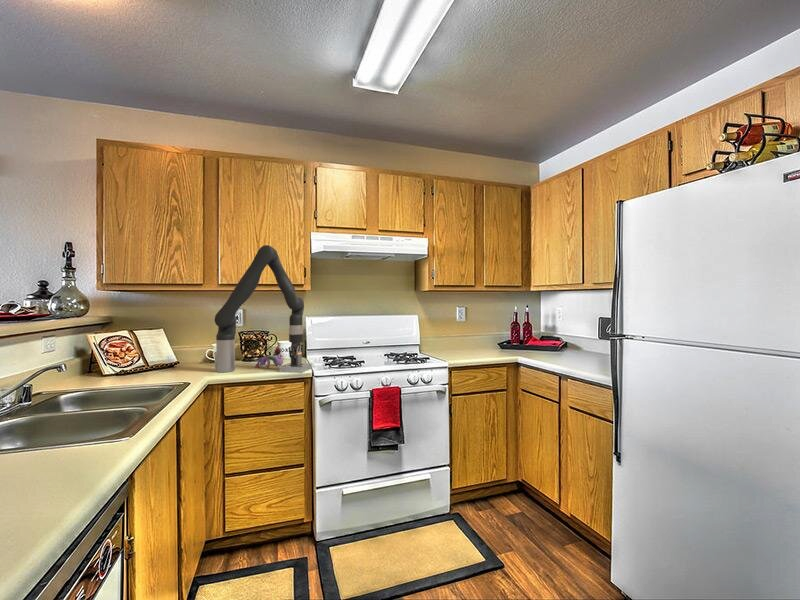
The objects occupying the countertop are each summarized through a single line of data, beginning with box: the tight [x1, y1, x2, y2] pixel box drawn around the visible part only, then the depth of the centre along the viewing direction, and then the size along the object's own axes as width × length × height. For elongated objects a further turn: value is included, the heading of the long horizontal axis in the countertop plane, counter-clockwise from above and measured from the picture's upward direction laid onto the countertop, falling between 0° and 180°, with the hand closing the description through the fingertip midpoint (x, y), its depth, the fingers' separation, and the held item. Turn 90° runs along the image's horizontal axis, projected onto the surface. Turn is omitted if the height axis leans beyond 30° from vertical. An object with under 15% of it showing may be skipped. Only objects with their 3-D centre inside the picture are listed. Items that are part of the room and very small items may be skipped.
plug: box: [290, 352, 303, 366], centre depth 213 cm, size 4×4×7 cm
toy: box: [255, 347, 284, 370], centre depth 225 cm, size 10×15×15 cm
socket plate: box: [278, 362, 313, 374], centre depth 213 cm, size 13×13×3 cm
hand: (296, 364), depth 213 cm, fingers closed on plug, 4 cm apart
